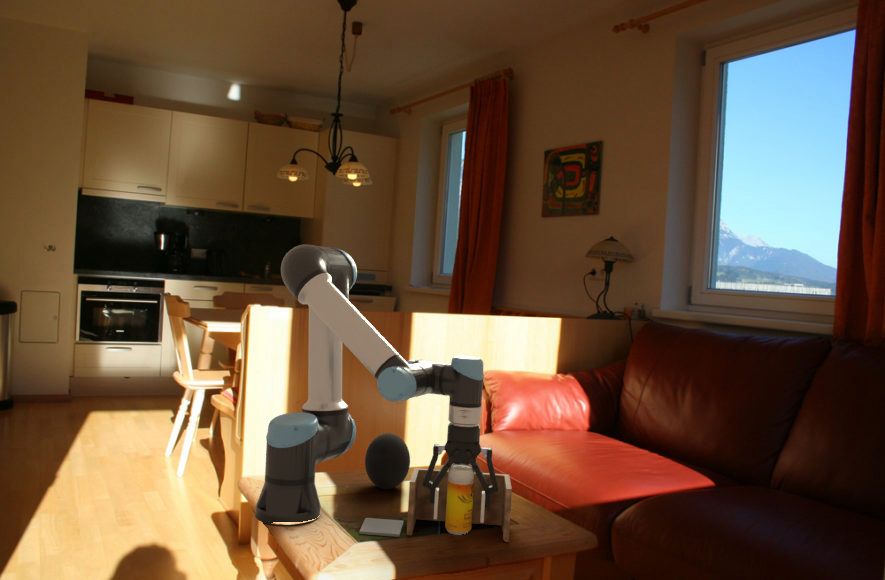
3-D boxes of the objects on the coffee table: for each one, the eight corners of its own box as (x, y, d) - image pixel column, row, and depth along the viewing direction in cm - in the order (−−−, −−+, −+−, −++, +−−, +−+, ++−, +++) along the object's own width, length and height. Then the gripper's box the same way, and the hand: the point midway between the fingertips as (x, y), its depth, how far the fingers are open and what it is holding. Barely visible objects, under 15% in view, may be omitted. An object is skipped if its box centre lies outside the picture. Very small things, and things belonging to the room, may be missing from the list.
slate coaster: (359, 533, 155) (359, 531, 155) (365, 520, 164) (365, 517, 164) (399, 536, 154) (399, 534, 154) (403, 523, 163) (403, 520, 163)
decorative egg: (373, 496, 182) (376, 440, 181) (356, 483, 193) (360, 430, 192) (415, 492, 187) (419, 437, 187) (397, 480, 198) (400, 428, 198)
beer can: (468, 537, 156) (472, 471, 156) (442, 533, 158) (446, 468, 158) (472, 528, 162) (476, 464, 162) (447, 525, 164) (451, 462, 164)
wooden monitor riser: (406, 534, 156) (409, 481, 155) (411, 517, 168) (414, 467, 167) (508, 542, 155) (511, 489, 154) (506, 524, 167) (509, 474, 166)
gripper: (414, 423, 157) (408, 520, 157) (514, 430, 156) (508, 528, 156) (416, 417, 164) (411, 510, 164) (512, 423, 163) (506, 517, 163)
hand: (458, 519), depth 160 cm, fingers open, 10 cm apart
